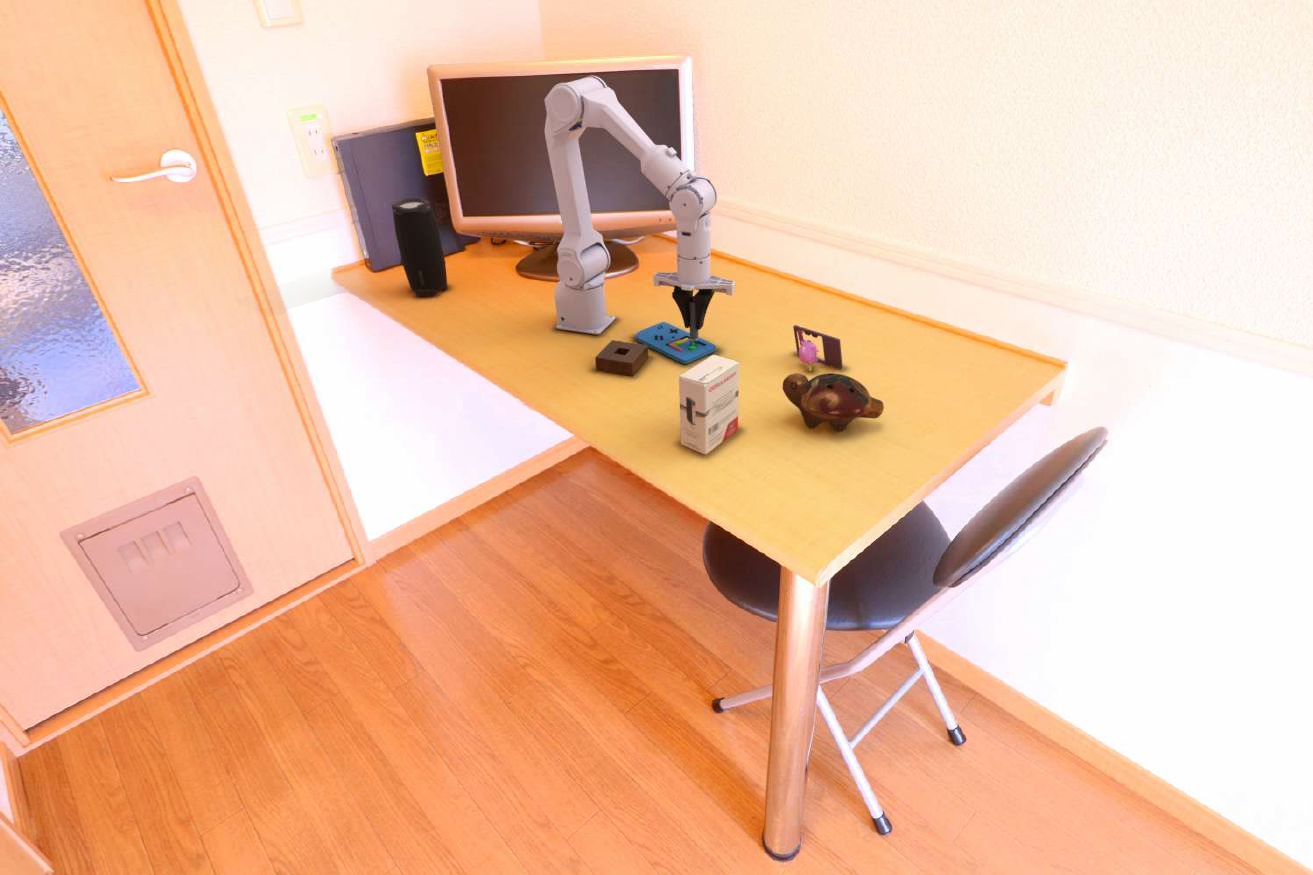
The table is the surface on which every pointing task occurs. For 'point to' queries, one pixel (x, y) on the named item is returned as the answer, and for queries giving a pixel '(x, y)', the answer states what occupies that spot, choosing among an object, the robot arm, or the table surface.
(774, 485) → the table surface
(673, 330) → the handheld gaming device
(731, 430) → the ink box
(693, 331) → the dark grey cylinder rod
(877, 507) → the table surface
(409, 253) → the portable speaker
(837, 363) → the purple frame with figurine
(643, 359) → the brown block with hole
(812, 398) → the decorative turtle
